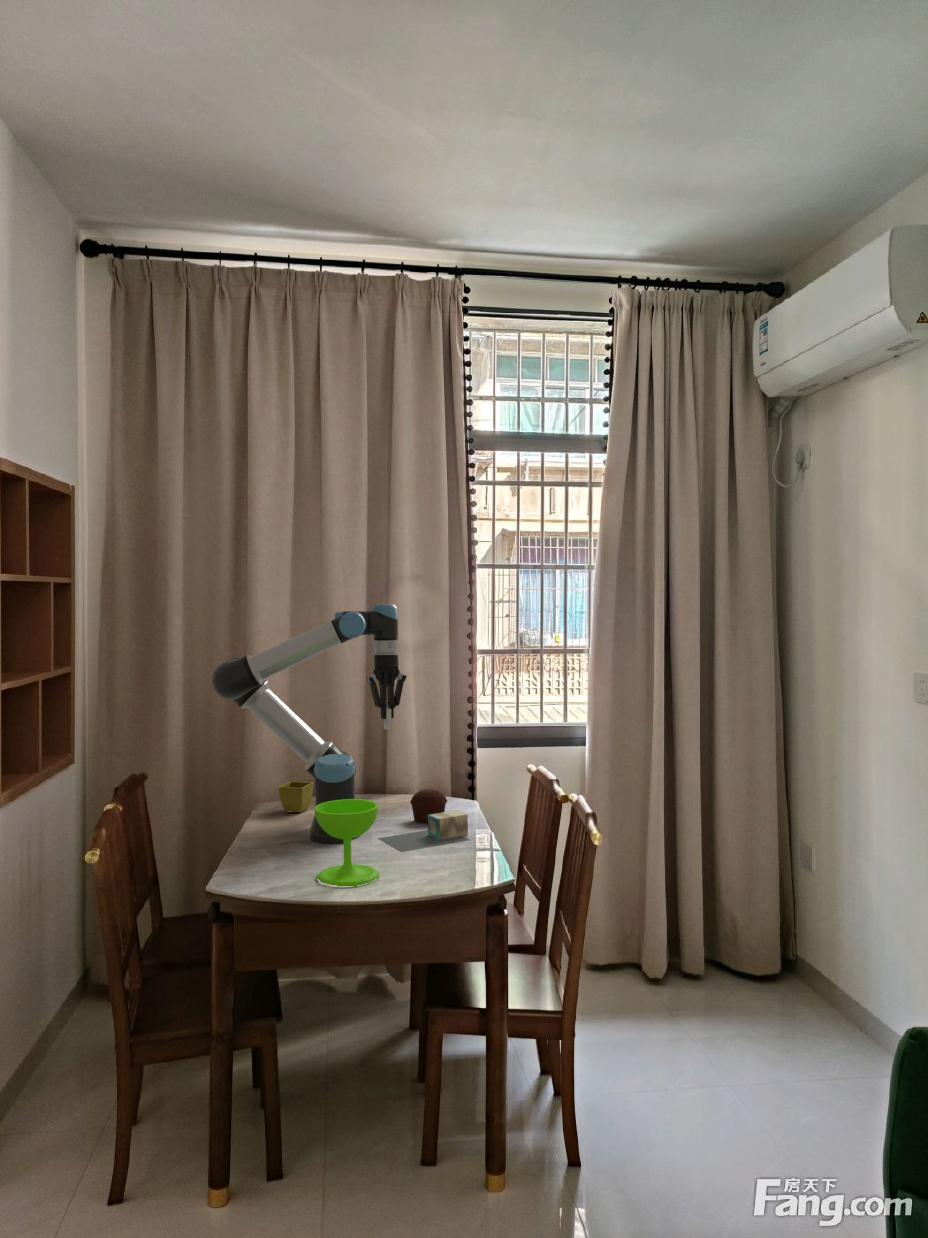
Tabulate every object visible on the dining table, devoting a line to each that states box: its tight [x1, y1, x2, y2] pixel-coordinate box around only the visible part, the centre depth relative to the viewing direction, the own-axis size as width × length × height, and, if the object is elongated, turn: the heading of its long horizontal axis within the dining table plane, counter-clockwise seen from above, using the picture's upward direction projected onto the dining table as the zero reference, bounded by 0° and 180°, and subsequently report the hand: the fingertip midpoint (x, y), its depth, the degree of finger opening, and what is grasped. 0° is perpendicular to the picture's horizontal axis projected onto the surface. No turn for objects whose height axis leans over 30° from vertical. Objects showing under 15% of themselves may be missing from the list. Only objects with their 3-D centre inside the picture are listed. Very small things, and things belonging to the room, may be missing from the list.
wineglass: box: [314, 798, 380, 886], centre depth 217 cm, size 16×16×18 cm
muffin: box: [409, 788, 448, 825], centre depth 270 cm, size 12×11×10 cm
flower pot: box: [277, 781, 314, 813], centre depth 286 cm, size 9×9×9 cm
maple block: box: [427, 810, 469, 840], centre depth 253 cm, size 6×6×10 cm
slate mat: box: [377, 829, 471, 853], centre depth 249 cm, size 22×16×1 cm
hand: (387, 729), depth 269 cm, fingers closed
